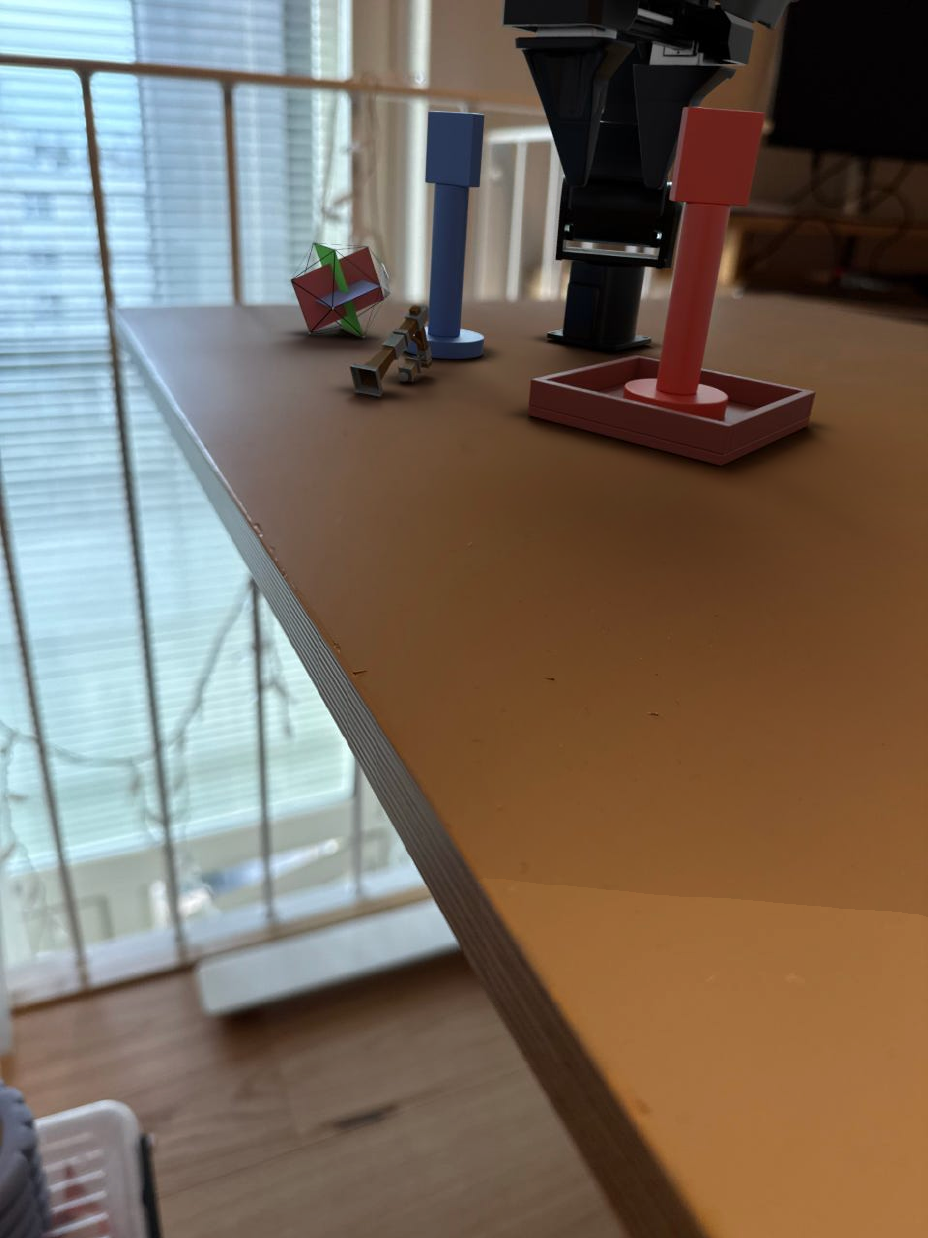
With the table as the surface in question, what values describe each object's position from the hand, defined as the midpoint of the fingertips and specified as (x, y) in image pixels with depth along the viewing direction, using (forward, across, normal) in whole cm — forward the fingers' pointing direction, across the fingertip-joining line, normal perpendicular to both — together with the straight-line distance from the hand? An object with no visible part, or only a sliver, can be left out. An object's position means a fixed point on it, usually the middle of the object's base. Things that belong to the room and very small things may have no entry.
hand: (617, 187), depth 57 cm
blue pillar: (+12, 0, +13) cm, 18 cm away
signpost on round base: (+11, -4, -8) cm, 14 cm away
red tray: (+12, -4, -8) cm, 15 cm away
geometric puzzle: (+12, -2, +22) cm, 25 cm away
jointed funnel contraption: (+12, -11, +8) cm, 18 cm away
